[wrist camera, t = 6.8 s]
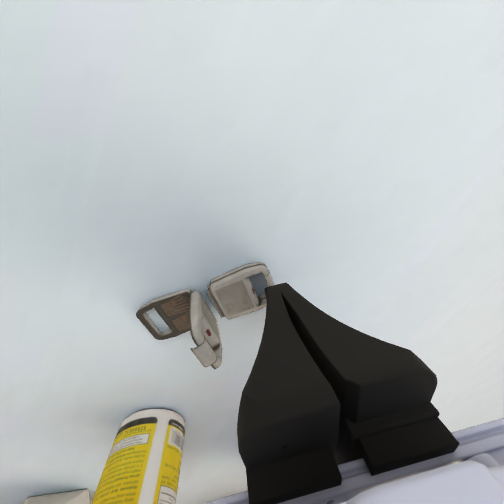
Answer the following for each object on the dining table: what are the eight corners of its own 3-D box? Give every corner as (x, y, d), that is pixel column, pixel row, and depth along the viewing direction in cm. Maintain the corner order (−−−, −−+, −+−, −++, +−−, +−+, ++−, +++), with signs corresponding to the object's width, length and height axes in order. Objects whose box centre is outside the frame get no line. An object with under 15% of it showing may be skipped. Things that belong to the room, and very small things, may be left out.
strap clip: (263, 256, 12) (282, 300, 8) (276, 292, 14) (299, 345, 10) (134, 305, 12) (97, 370, 9) (160, 337, 14) (138, 405, 10)
